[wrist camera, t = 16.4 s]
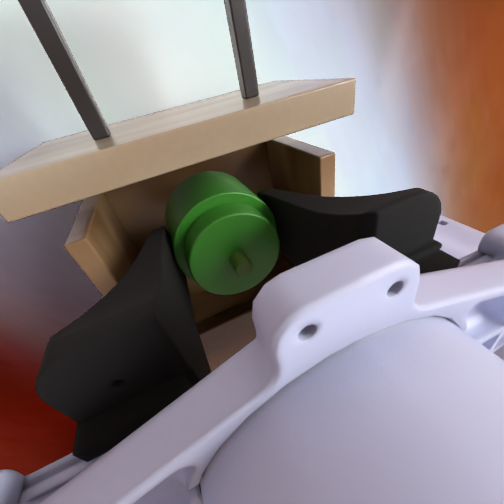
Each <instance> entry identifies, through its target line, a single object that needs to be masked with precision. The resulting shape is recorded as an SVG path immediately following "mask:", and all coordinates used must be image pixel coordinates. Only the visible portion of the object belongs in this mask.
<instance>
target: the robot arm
mask: <svg viewBox="0 0 504 504" xmlns="http://www.w3.org/2000/svg"><path fill="white" fill-rule="evenodd" d="M257 197H258V198H259V199H261V200H262V201H263V202H264V203H265V204H266V205H267V206H268V207H269V208H270V210H271V212H272V213H273V216H274V218H275V222H276V228H277V233H278V236H279V241H280V250H281V251H282V252H283V253H284V254H285V255H286V256H287V257H288V258H289V259H290V260H291V261H292V262H293V263H294V264H295V265H296V267H294V268H292V269H289V270H287V271H285V272H283V273H280V274H279V275H278V276H276V277H275V278H273V279H272V280H270V281H269V282H267V283H266V284H265V285H264V286H263V287H262V289H261V290H260V292H259V293H258V295H257V296H256V298H255V299H254V301H253V307H252V319H253V322H254V325H255V329H256V338H255V339H254V340H253V341H252V342H250V343H249V344H248V345H246V346H245V347H244V348H243V349H241V350H240V351H239V352H237V353H236V354H235V355H233V356H232V357H231V358H229V359H228V360H227V361H226V362H224V363H223V364H222V365H220V366H219V367H218V368H216V369H215V370H214V371H212V372H211V369H210V366H209V363H208V360H207V357H206V354H205V351H204V348H203V344H202V341H201V338H200V335H199V332H198V329H197V325H196V322H195V319H194V314H193V310H192V304H191V299H190V294H189V288H188V283H187V278H186V275H185V274H184V273H183V272H182V271H181V270H180V268H179V266H178V265H177V263H176V260H175V257H174V253H173V249H172V245H171V241H170V237H169V234H168V232H167V230H166V228H165V226H162V227H159V228H157V229H154V230H151V232H150V234H149V236H148V238H147V240H146V242H145V244H144V246H143V248H142V249H141V251H140V253H139V255H138V256H137V258H136V259H135V261H134V263H133V264H132V266H131V267H130V268H129V270H128V271H127V272H126V274H125V275H124V276H123V277H122V279H121V280H120V281H119V282H118V283H117V284H116V285H115V286H114V287H113V288H112V289H111V290H110V291H109V292H108V293H107V294H106V295H105V296H104V297H103V298H102V299H101V300H100V301H99V302H98V303H96V304H95V305H94V306H93V307H92V308H90V309H89V310H88V311H87V312H85V313H84V314H83V315H82V316H80V317H79V318H78V319H76V320H75V321H73V322H72V323H71V324H69V325H68V326H66V327H65V328H63V329H62V330H61V331H59V332H58V333H56V334H55V335H53V336H52V337H50V339H49V342H48V344H47V347H46V351H45V354H44V357H43V360H42V363H41V366H40V369H39V372H38V375H37V379H36V386H35V389H36V391H37V394H38V396H39V397H40V398H41V399H42V400H43V401H44V402H45V403H47V404H48V405H50V406H52V407H53V408H55V409H56V410H58V411H60V412H61V413H63V414H65V415H66V416H68V417H70V418H71V419H73V420H75V421H76V422H78V423H77V430H76V436H75V442H74V448H73V453H71V454H69V455H67V456H65V457H63V458H61V459H59V460H57V461H55V462H53V463H51V464H49V465H47V466H45V467H43V468H41V469H39V470H37V471H35V472H33V473H31V474H29V475H27V476H24V475H22V474H21V473H19V472H17V471H14V470H7V469H5V470H0V504H504V223H503V224H501V225H499V226H497V227H495V228H493V229H491V230H489V231H488V232H486V233H482V232H480V231H478V230H475V229H473V228H470V227H468V226H466V225H463V224H461V223H458V222H456V221H454V220H451V219H449V218H446V217H444V216H442V215H440V214H441V201H440V199H439V197H438V196H437V195H436V194H434V193H432V192H429V191H426V190H424V189H421V188H413V189H408V190H402V191H397V192H392V193H386V194H378V195H370V196H356V197H325V196H315V195H306V194H300V193H294V192H289V191H283V190H277V189H266V190H263V191H260V192H257Z"/></svg>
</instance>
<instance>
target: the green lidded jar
mask: <svg viewBox="0 0 504 504" xmlns="http://www.w3.org/2000/svg"><path fill="white" fill-rule="evenodd" d="M165 221H166V226H167V230H168V233H169V237H170V241H171V245H172V249H173V253H174V257H175V260H176V263H177V265H178V266H179V268H180V270H181V271H182V272H183V273H184V274H185V275H186V276H187V277H188V278H190V279H192V280H193V281H195V282H196V283H197V284H198V285H199V286H200V287H201V288H203V289H204V290H206V291H208V292H211V293H214V294H219V295H231V294H237V293H240V292H243V291H246V290H248V289H250V288H252V287H254V286H255V285H257V284H258V283H260V282H261V281H262V280H263V279H264V278H265V277H266V276H267V275H268V274H269V273H270V272H271V270H272V269H273V267H274V265H275V263H276V261H277V259H278V256H279V251H280V241H279V236H278V233H277V228H276V222H275V218H274V216H273V213H272V212H271V210H270V208H269V207H268V206H267V205H266V204H265V203H264V202H263V201H262V200H261V199H259V198H258V197H257V196H256V195H255V194H254V193H253V192H251V191H250V190H249V189H248V188H247V187H246V186H245V185H243V184H242V183H241V182H240V181H239V180H238V179H236V178H235V177H233V176H231V175H229V174H227V173H224V172H219V171H203V172H199V173H196V174H194V175H191V176H189V177H188V178H186V179H184V180H183V181H182V182H180V183H179V184H178V185H177V186H176V188H175V189H174V190H173V191H172V193H171V195H170V197H169V199H168V201H167V204H166V209H165Z"/></svg>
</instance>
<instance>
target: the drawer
mask: <svg viewBox="0 0 504 504" xmlns="http://www.w3.org/2000/svg"><path fill="white" fill-rule="evenodd" d="M18 1H19V3H20V5H21V7H22V9H23V11H24V13H25V14H26V16H27V18H28V20H29V22H30V24H31V25H32V27H33V29H34V31H35V33H36V35H37V37H38V38H39V40H40V42H41V44H42V46H43V48H44V49H45V51H46V53H47V55H48V57H49V59H50V60H51V62H52V64H53V66H54V68H55V70H56V72H57V73H58V75H59V77H60V79H61V81H62V83H63V84H64V86H65V88H66V90H67V92H68V94H69V96H70V97H71V99H72V101H73V103H74V105H75V107H76V108H77V110H78V112H79V114H80V116H81V118H82V120H83V121H84V123H85V125H86V127H87V129H88V131H84V132H80V133H76V134H73V135H69V136H65V137H61V138H58V139H54V140H50V141H46V142H43V143H41V144H40V145H38V146H37V147H35V148H34V149H32V150H30V151H29V152H27V153H26V154H24V155H23V156H21V157H19V158H18V159H16V160H15V161H13V162H12V163H10V164H8V165H7V166H5V167H4V168H2V169H1V170H0V215H1V216H2V217H3V218H4V219H5V221H6V222H8V223H9V222H13V221H17V220H20V219H23V218H26V217H29V216H32V215H36V214H39V213H42V212H45V211H48V210H51V209H54V208H58V207H61V206H64V205H67V204H70V203H73V202H77V201H80V200H83V202H82V204H81V206H80V209H79V211H78V213H77V216H76V218H75V221H74V223H73V225H72V228H71V230H70V232H69V235H68V237H67V240H66V242H65V244H64V248H65V249H66V250H67V252H68V253H69V254H70V255H71V257H72V258H73V259H74V260H75V262H76V263H77V264H78V265H79V267H80V268H81V269H82V270H83V271H84V273H85V274H86V275H87V276H88V278H89V279H90V280H91V281H92V283H93V284H94V285H95V286H96V288H97V289H98V290H99V291H100V292H101V294H102V295H103V296H105V295H106V294H107V293H108V292H109V291H110V290H111V289H112V288H113V287H114V286H115V285H116V284H117V283H118V282H119V281H120V280H121V279H122V277H123V276H124V275H125V274H126V272H127V271H128V270H129V268H130V267H131V266H132V264H133V263H134V261H135V259H136V258H137V256H138V255H139V253H140V251H141V249H142V248H143V246H144V244H145V242H146V240H147V238H148V236H149V234H150V232H151V230H154V229H157V228H159V227H162V226H165V228H166V230H167V226H166V221H165V209H166V204H167V201H168V199H169V197H170V195H171V193H172V191H173V190H174V189H175V188H176V186H177V185H178V184H179V183H180V182H182V181H183V180H184V179H186V178H188V177H189V176H191V175H194V174H196V173H199V172H203V171H219V172H224V173H227V174H229V175H231V176H233V177H235V178H236V179H238V180H239V181H240V182H241V183H242V184H243V185H245V186H246V187H247V188H248V189H249V190H250V191H251V192H253V193H254V194H255V195H256V196H257V192H260V191H263V190H266V189H277V190H283V191H289V192H294V193H300V194H306V195H315V196H325V197H334V189H335V153H334V152H331V151H328V150H325V149H322V148H319V147H316V146H313V145H310V144H307V143H304V142H301V141H298V140H294V139H291V138H288V137H285V135H288V134H292V133H295V132H298V131H301V130H304V129H307V128H311V127H314V126H317V125H320V124H323V123H326V122H329V121H333V120H336V119H339V118H342V117H345V116H348V115H352V114H353V113H354V100H355V78H341V79H315V80H288V81H272V82H268V83H264V84H260V85H258V84H257V77H256V70H255V63H254V57H253V50H252V43H251V36H250V30H249V23H248V16H247V9H246V2H245V0H224V4H225V9H226V15H227V20H228V25H229V31H230V36H231V42H232V47H233V53H234V58H235V63H236V69H237V74H238V80H239V85H240V90H238V91H234V92H230V93H227V94H223V95H219V96H215V97H212V98H208V99H204V100H200V101H197V102H193V103H189V104H185V105H182V106H178V107H174V108H170V109H167V110H163V111H159V112H155V113H151V114H148V115H144V116H140V117H136V118H133V119H129V120H125V121H121V122H118V123H114V124H110V125H107V124H106V122H105V120H104V118H103V116H102V114H101V112H100V110H99V108H98V106H97V104H96V101H95V99H94V97H93V95H92V93H91V91H90V89H89V87H88V85H87V83H86V81H85V79H84V77H83V75H82V73H81V71H80V69H79V67H78V65H77V63H76V61H75V59H74V57H73V55H72V53H71V51H70V49H69V47H68V45H67V43H66V41H65V39H64V37H63V35H62V33H61V31H60V29H59V27H58V25H57V23H56V21H55V19H54V17H53V14H52V12H51V10H50V8H49V6H48V4H47V2H46V0H18ZM167 232H168V230H167ZM168 234H169V233H168ZM294 267H296V265H295V264H294V263H293V262H292V261H291V260H290V259H289V258H288V257H287V256H286V255H285V254H284V253H283V252H282V251H281V250H280V251H279V256H278V259H277V261H276V263H275V265H274V267H273V269H272V270H271V272H270V273H269V274H268V275H267V276H266V277H265V278H264V279H263V280H262V281H261V282H260V283H258V284H257V285H255V286H254V287H252V288H250V289H248V290H246V291H243V292H240V293H237V294H231V295H219V294H214V293H211V292H208V291H206V290H204V289H203V288H201V287H200V286H199V285H198V284H197V283H196V282H195V281H193V280H192V279H190V278H188V277H187V276H186V278H187V283H188V288H189V294H190V299H191V304H192V310H193V314H194V319H195V322H196V323H197V322H199V321H201V320H204V319H206V318H208V317H210V316H213V315H215V314H217V313H219V312H222V311H224V310H226V309H228V308H231V307H233V306H235V305H237V304H240V303H242V302H244V301H246V300H249V299H251V298H253V297H255V296H257V295H258V293H259V292H260V290H261V289H262V287H263V286H264V285H265V284H266V283H267V282H269V281H270V280H272V279H273V278H275V277H276V276H278V275H279V274H280V273H283V272H285V271H287V270H289V269H292V268H294Z"/></svg>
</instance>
